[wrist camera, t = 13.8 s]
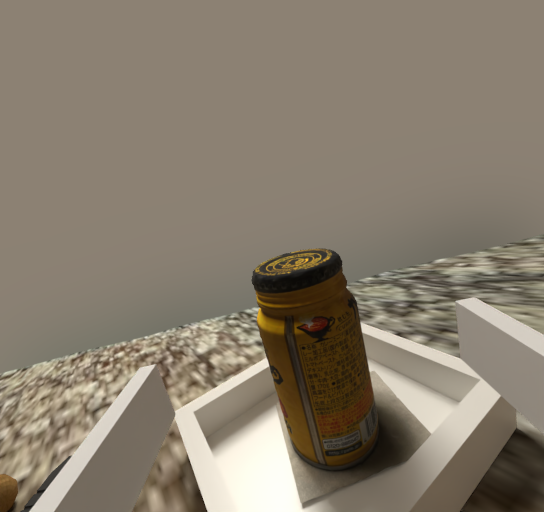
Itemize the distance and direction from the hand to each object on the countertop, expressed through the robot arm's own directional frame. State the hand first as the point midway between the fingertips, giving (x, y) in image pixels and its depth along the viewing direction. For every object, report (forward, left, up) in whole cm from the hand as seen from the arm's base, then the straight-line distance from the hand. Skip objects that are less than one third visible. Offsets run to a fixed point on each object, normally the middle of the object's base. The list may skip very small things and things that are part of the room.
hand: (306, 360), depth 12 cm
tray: (-3, -4, -10) cm, 11 cm away
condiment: (-4, -3, -9) cm, 10 cm away
